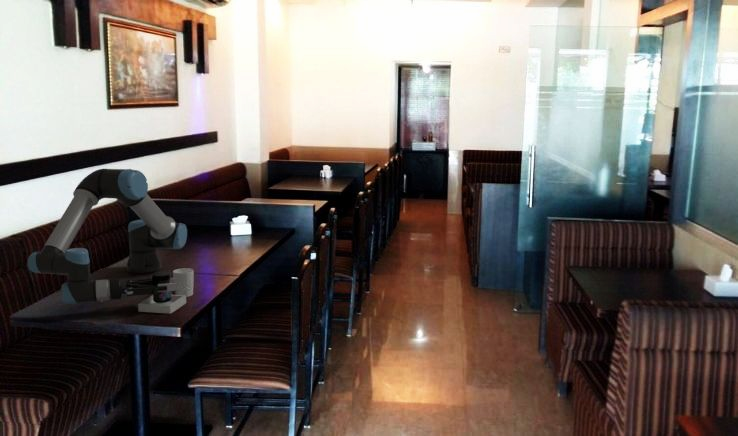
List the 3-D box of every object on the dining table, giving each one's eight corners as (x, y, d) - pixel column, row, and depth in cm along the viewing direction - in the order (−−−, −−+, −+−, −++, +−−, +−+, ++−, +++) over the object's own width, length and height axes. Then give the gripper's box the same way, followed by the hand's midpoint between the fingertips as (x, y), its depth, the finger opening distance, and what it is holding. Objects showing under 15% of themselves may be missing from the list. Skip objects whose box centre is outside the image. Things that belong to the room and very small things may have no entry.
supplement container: (156, 304, 228) (154, 277, 226) (150, 300, 233) (149, 273, 231) (174, 301, 231) (173, 274, 230) (168, 297, 237) (167, 270, 235)
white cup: (187, 290, 253) (185, 267, 252) (198, 294, 249) (197, 270, 247) (170, 295, 247) (168, 271, 246) (181, 299, 243) (180, 274, 241)
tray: (138, 311, 228) (138, 303, 227) (155, 301, 240) (155, 293, 239) (170, 313, 226) (170, 305, 225) (186, 302, 238) (185, 295, 237)
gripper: (111, 292, 235) (174, 286, 243) (109, 307, 217) (177, 301, 225) (109, 272, 233) (173, 267, 241) (107, 287, 215) (176, 281, 223)
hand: (175, 283), depth 233 cm, fingers closed on supplement container, 7 cm apart
